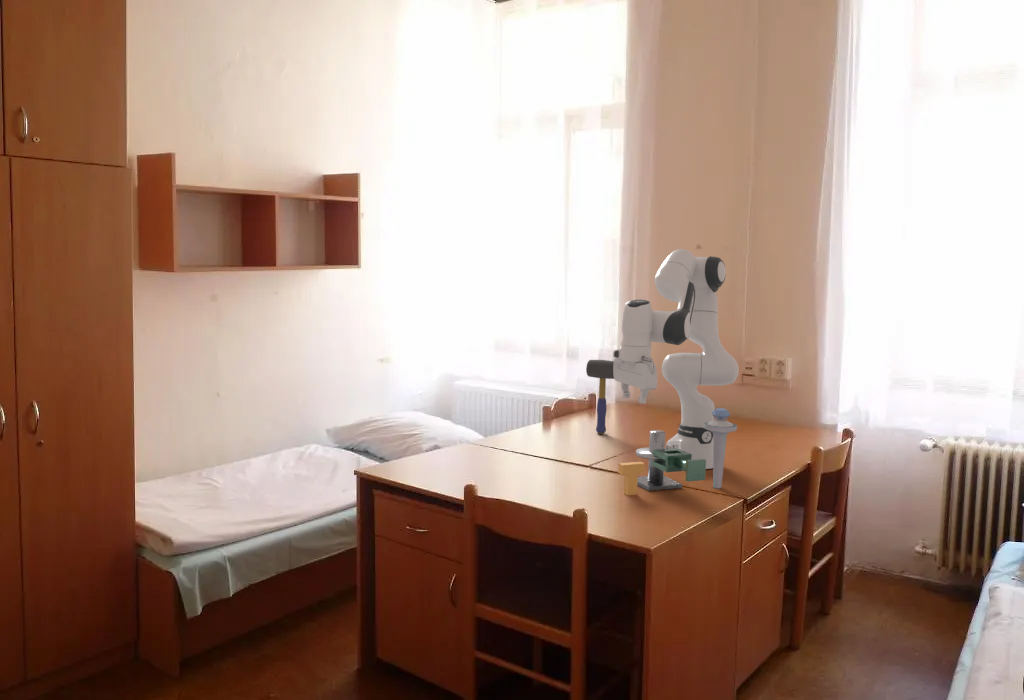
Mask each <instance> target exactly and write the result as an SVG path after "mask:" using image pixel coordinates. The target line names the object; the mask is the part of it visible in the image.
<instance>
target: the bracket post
mask: <svg viewBox="0 0 1024 700" xmlns="http://www.w3.org/2000/svg"><path fill="white" fill-rule="evenodd" d="M648 445H649V446H648V447H640V448H637V449H636V450H635V455H636V456H637V457H638V458H642V459H646V460H648V465H647V466H648V467H647V468H648V471H647V474H648V475H644V476H643V475H642V476H638V484H637V487H640V488H642V489H644V490H646V491H647V490H648V492H653V491H652V490H656V491H662V490H661V489H666V490H673V489H674V488H676V489H682V488H683V484H682V483H681V482H678V481H676V480H675V479H672V478H670V477H668V476H665V475H664V472H665V473H676V472H677V473H678V472H685V476H684V477H685V481H686V482H699V481H705V480H706V470H707V469H706V460H705V459H698V460H691V458H692V454H690V453H687V452H685V451H682V450H680V449H677V448H671V449H666V431H664V430H659V429H653V430H650V431H649V442H648Z"/></svg>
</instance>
